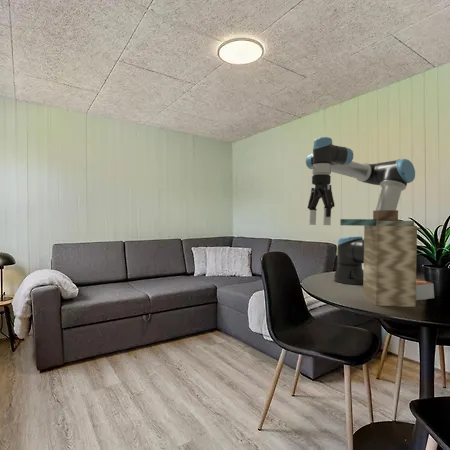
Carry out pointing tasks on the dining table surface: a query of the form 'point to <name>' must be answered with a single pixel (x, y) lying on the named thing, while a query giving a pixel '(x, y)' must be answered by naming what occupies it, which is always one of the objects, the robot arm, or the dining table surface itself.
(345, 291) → the dining table surface
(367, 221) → the teal and brown block
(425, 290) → the small box
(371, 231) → the wooden board
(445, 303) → the dining table surface
